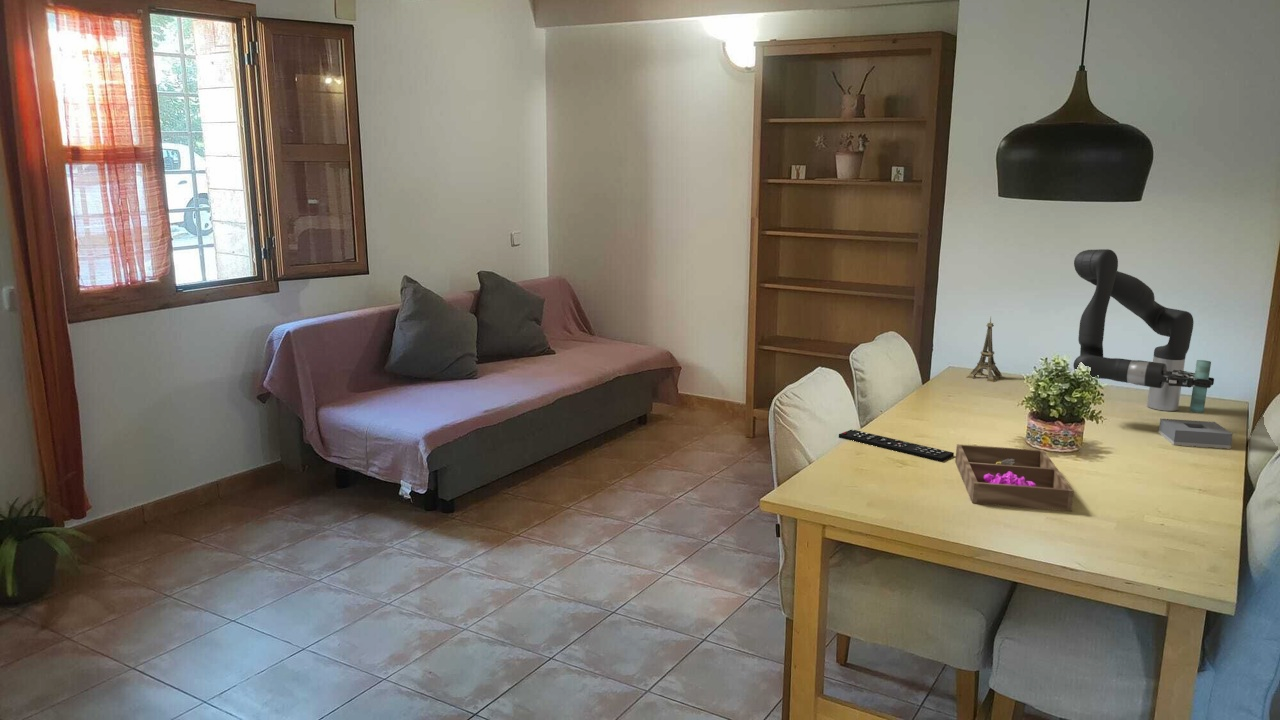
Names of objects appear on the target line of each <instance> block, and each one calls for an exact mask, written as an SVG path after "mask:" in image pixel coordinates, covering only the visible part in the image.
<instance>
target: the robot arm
mask: <svg viewBox="0 0 1280 720" xmlns="http://www.w3.org/2000/svg"><path fill="white" fill-rule="evenodd" d="M1073 266H1074V270H1075V271H1076V274H1077V275H1078V276H1079V277H1080V278H1081V279H1083V280H1085V281H1087V282H1089V283H1091V284H1092V285H1094V286H1095V290H1094V292H1093V296H1092V297H1091V299H1090V301H1089V302H1088V304H1087V305H1086V307H1085V308H1084V310H1083V312H1082V314H1081V317H1080V321H1079V329H1078V343H1079V345H1080V351H1079V352H1080V353H1079V355H1078V356H1077V357H1076V358H1075V360H1074V362H1073V364H1072V365H1073V370H1074V371H1075V369H1077V367H1078V365H1079V363H1080V362H1082V363H1083V364H1084V365H1085V366H1089V367H1091V371H1090V375H1091V376H1092V377H1095V376H1097V375H1099V378H1098V379H1102V380H1105V379H1106V380H1111V381H1115V382H1119V383H1126V384H1131V385H1135V386H1142V387H1146V388H1147V387H1148V395H1147V401H1146V402H1147V403H1146V406H1147V408H1150V409H1153V410H1159V411H1165V412H1167V411H1168V412H1173V411H1178V410H1179V405H1180V398H1181V393H1182V392H1181V391H1182V387H1184V388H1193V387H1195V385H1196V386H1198V387H1205V388H1207V389H1210V388H1211V387H1212V386H1213V385H1214V384H1215V378H1214V377H1210V376H1209V380H1205V379H1198V378H1197V380H1196V378H1195V377H1194V376H1195V372H1191V371H1185V369H1184V368H1185V362H1186V357H1187V354H1188V351H1189V349H1190V345H1191V341H1192V335H1193V330H1194V323H1195V322H1194V317H1193V314H1192V313H1191V312H1189V311H1186V310H1183V309H1182V310H1181V309H1175V308H1170V307H1165V306H1164V305H1161V304H1160V303H1159V302H1157V301H1155V297H1156V296H1155V293H1154V291H1153V290H1152V288H1151V287H1150V286H1149V285H1148V284H1146V283H1145V282H1143V281H1142V280H1140V279H1139V278H1138V277H1135V276H1133V275H1130V274H1128V273H1124V272H1122V271H1118V267H1119V259H1118V256H1117V254H1116V252H1115V251H1113V250H1112V249H1109V248H1106V249H1087V250H1086V249H1085V250H1082V251H1081V252H1078V254H1076V256H1075V258H1074V260H1073ZM1111 298H1113V299H1114V300H1116V301H1117V303H1119V304H1120V305H1122V307H1124V308H1126V310H1128V311H1130V312H1131V313H1133V314H1134V315H1136V316H1137V317H1139V318H1140V319H1141V320H1142V321H1143V322H1145V324H1146V325H1148V328H1150V329H1151V330H1152V331H1153V332H1154V333H1156V334H1157V335H1160V336H1164V337H1168V341H1167V344H1164V345H1161V346H1157V347H1154V350H1153V358H1152V361H1148V360H1141V359H1140V360H1138V359H1136V360H1135V359H1129V358H1128V359H1127V358H1120V357H1119V358H1118V357H1115V358H1114V357H1113V358H1111V357H1105V356H1104V344H1103V342H1104V335H1105V328H1106V327H1105V326H1106V325H1105V324H1106V316H1107V311H1108V307H1109V303H1110V299H1111Z"/></svg>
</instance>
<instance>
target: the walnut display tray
mask: <svg viewBox="0 0 1280 720" xmlns="http://www.w3.org/2000/svg"><path fill="white" fill-rule="evenodd" d="M1006 459H1009V460H1010V459H1013V460H1014V461H1013V462H1015V463H1014V464H1012V465H1001V464H996V463H997V462H1001V461H1003V460H1004V461H1005V460H1006ZM954 462H955V465H956V467H957V469H958V472H959V474H960V477H961V480H962V482H963V485H964V487H965V489H966V491H967V494H968V497H969V499H970V501H971V503H972V504H977V505H989V506H1002V507H1015V508H1027V509H1037V510H1038V509H1041V510H1050V511H1052V510H1053V511H1064V512H1072V511H1073V508H1072V507H1073V499H1074V493H1075V491H1074V489H1073V488H1072V487H1071V485H1070V484H1069V483H1068V480H1066V479H1065V477H1064V476H1063V474H1062V473H1061V472H1060V470H1059V469H1058V467H1057V466H1056V465H1055V464H1054V462H1053V461H1052V460H1051V458H1050V457H1049V455H1048V454H1047V453H1046V451H1045V449H1044V450H1042V449H1028V448H1016V447H1015V448H1014V447H1003V446H1002V447H1001V446H988V445H975V444H974V445H973V444H972V445H971V444H959V443H957V444H956V450H955V459H954ZM1011 463H1012V462H1011ZM1008 471H1010V472H1012V473H1013V474H1015V475H1017V477H1018V478H1021V477H1024V478H1025V483H1026V481H1032V482H1033V483H1035V484H1036V487H1035V486H1022V485H1009V484H996V483H988V482H985V480H984V475H986V474H988V473H989V474H991V475H993V476H994V478H993V479H995V477H996V475H997V473H999V474H1001V476H1003V475H1004V474H1006V473H1007V472H1008ZM993 479H992V480H993ZM1005 479H1007V478H1006V477H1005ZM1013 479H1015V478H1013ZM1005 483H1006V482H1005ZM1013 484H1015V483H1013ZM1026 484H1027V483H1026Z"/></svg>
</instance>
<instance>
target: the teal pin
mask: <svg viewBox="0 0 1280 720" xmlns="http://www.w3.org/2000/svg"><path fill="white" fill-rule="evenodd" d="M1211 366H1212V361H1211V360H1203V359H1197V360H1196V364H1195V370H1194V371H1195V372H1194V373H1195V376H1194V377H1195V378H1196V380H1197V378H1198V379H1205V380H1209V377H1210V372H1211ZM1191 391H1192V392H1191V397H1190V403H1189V404H1190V405H1189V412H1191V413H1195V414H1197V413H1198V414H1203V413H1204V411H1205V405H1206V398H1207V392H1208V388H1205V387H1198V386H1196V385H1195V387H1192V390H1191Z"/></svg>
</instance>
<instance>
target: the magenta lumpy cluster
mask: <svg viewBox="0 0 1280 720" xmlns="http://www.w3.org/2000/svg"><path fill="white" fill-rule="evenodd" d="M1005 477H1006V478H1007V479H1005ZM993 478H994V476H993V475H991V474H989V473H988V474H986V475H984V480H985V482H988V483H996V484H1009V485H1022V486H1035V487H1036V484H1035V483H1033V482H1032V481H1026V483H1027V484H1026V483H1025V478H1024V477H1021V478H1018V477H1017V475H1015V474H1013V473H1012V472H1010V471H1008V472H1007V473H1006V474H1004V475H1003V476H1001V474H999V473H997V475H996V477H995V479H993ZM1013 478H1015V479H1013ZM992 479H993V480H992ZM1005 482H1006V483H1005ZM1013 483H1015V484H1013Z"/></svg>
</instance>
